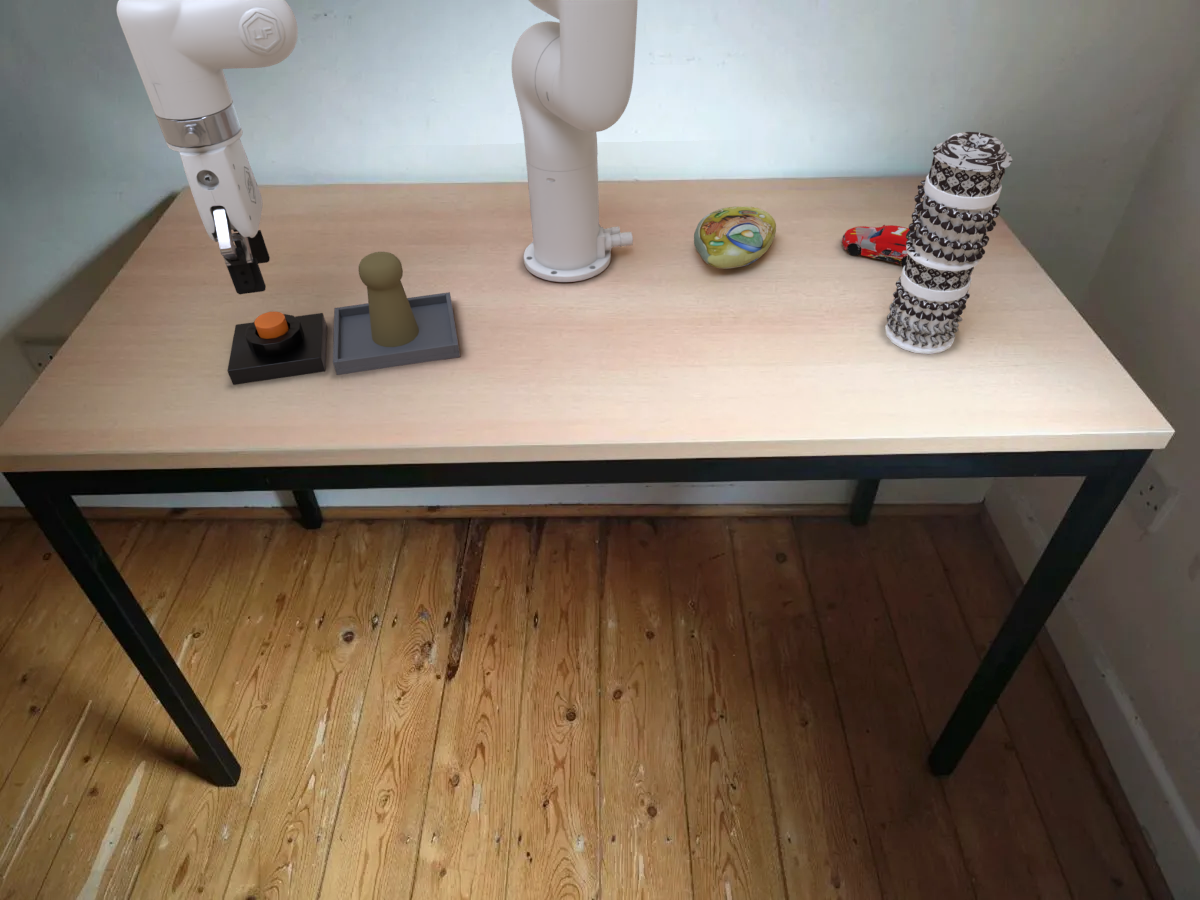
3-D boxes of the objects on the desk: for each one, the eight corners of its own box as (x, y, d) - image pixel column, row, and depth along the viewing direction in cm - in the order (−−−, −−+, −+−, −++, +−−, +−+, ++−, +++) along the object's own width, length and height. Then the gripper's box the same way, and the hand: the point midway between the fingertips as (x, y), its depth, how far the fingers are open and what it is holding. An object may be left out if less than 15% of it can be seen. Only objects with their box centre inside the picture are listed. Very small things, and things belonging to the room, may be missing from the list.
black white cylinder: (866, 324, 108) (911, 133, 90) (924, 307, 110) (979, 118, 93) (912, 363, 101) (970, 166, 84) (972, 344, 104) (1041, 149, 87)
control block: (327, 326, 110) (319, 300, 107) (325, 371, 103) (317, 345, 100) (240, 338, 109) (230, 312, 106) (233, 385, 101) (222, 358, 99)
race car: (835, 252, 121) (839, 227, 118) (847, 236, 124) (851, 211, 121) (927, 275, 116) (934, 249, 113) (937, 257, 119) (944, 231, 116)
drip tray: (451, 304, 113) (449, 291, 112) (460, 357, 104) (458, 344, 103) (337, 320, 111) (334, 307, 110) (336, 375, 102) (332, 362, 101)
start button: (289, 321, 105) (285, 309, 104) (287, 337, 102) (283, 325, 101) (259, 325, 104) (255, 313, 103) (257, 341, 102) (253, 329, 101)
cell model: (794, 223, 122) (759, 230, 110) (770, 271, 126) (734, 283, 114) (732, 190, 125) (692, 193, 113) (710, 238, 129) (669, 246, 117)
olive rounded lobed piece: (408, 349, 105) (391, 273, 97) (363, 344, 106) (343, 268, 98) (425, 322, 109) (410, 247, 101) (382, 317, 110) (364, 242, 102)
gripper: (229, 154, 80) (283, 312, 92) (245, 90, 92) (291, 237, 105) (147, 163, 79) (212, 322, 91) (174, 97, 91) (229, 245, 104)
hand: (253, 275), depth 98 cm, fingers open, 5 cm apart
